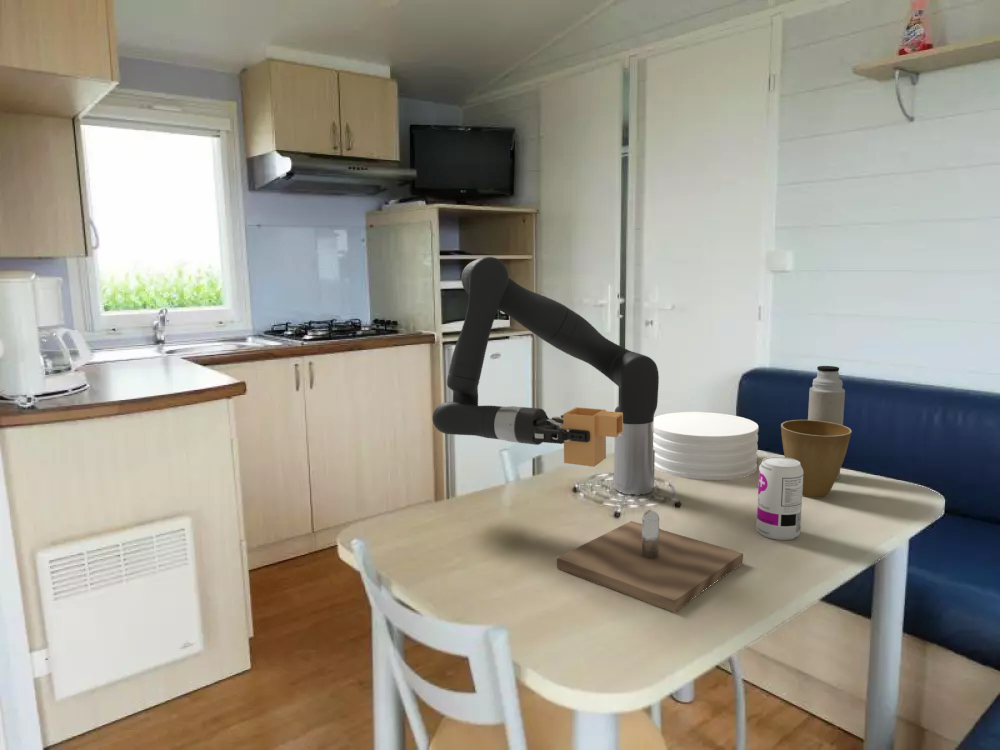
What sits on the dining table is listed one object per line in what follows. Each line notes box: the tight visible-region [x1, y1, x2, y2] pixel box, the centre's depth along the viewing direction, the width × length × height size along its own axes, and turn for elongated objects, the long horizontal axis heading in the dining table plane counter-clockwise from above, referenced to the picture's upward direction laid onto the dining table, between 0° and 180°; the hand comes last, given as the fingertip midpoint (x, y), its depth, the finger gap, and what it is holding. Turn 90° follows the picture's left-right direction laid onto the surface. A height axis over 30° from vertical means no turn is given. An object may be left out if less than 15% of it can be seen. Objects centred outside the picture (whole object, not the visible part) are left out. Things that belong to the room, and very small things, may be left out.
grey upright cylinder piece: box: [641, 509, 660, 559], centre depth 126 cm, size 3×3×8 cm
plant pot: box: [780, 419, 852, 499], centre depth 162 cm, size 15×15×16 cm
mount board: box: [556, 520, 744, 613], centre depth 127 cm, size 24×24×2 cm
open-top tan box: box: [562, 407, 623, 467], centre depth 138 cm, size 10×6×10 cm, turn 61°
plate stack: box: [653, 411, 759, 481], centre depth 188 cm, size 28×28×12 cm
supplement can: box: [756, 456, 803, 541], centre depth 139 cm, size 8×8×15 cm
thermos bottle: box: [807, 365, 846, 480], centre depth 174 cm, size 8×8×28 cm
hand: (595, 432), depth 137 cm, fingers closed on open-top tan box, 6 cm apart
